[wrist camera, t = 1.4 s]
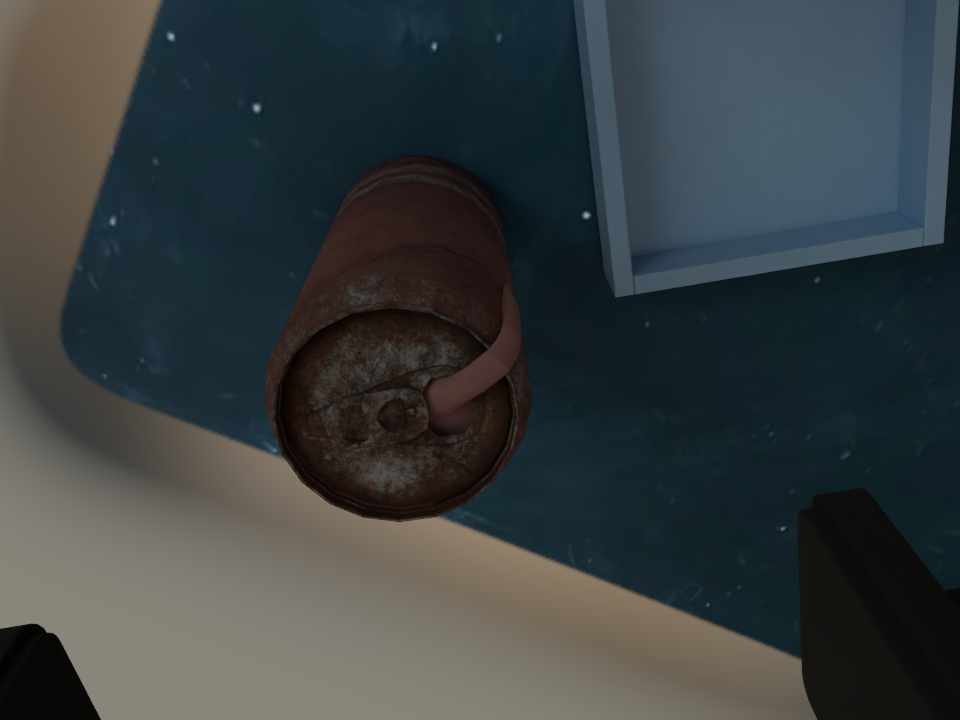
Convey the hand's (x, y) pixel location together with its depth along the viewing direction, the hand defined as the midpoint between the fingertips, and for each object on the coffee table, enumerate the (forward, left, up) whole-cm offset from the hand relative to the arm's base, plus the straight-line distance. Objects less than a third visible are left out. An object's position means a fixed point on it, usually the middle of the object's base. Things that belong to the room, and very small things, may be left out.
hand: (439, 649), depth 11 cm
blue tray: (+11, +2, -22) cm, 25 cm away
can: (-1, -1, -22) cm, 22 cm away
